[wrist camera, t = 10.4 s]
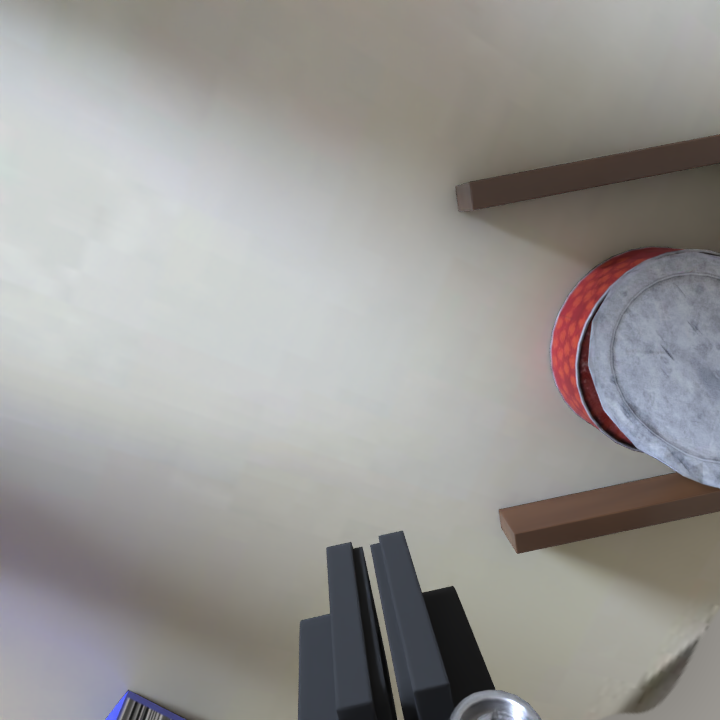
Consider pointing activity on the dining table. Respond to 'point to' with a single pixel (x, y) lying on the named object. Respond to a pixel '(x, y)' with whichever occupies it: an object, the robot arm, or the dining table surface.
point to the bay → (632, 499)
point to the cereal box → (140, 710)
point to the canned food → (647, 355)
